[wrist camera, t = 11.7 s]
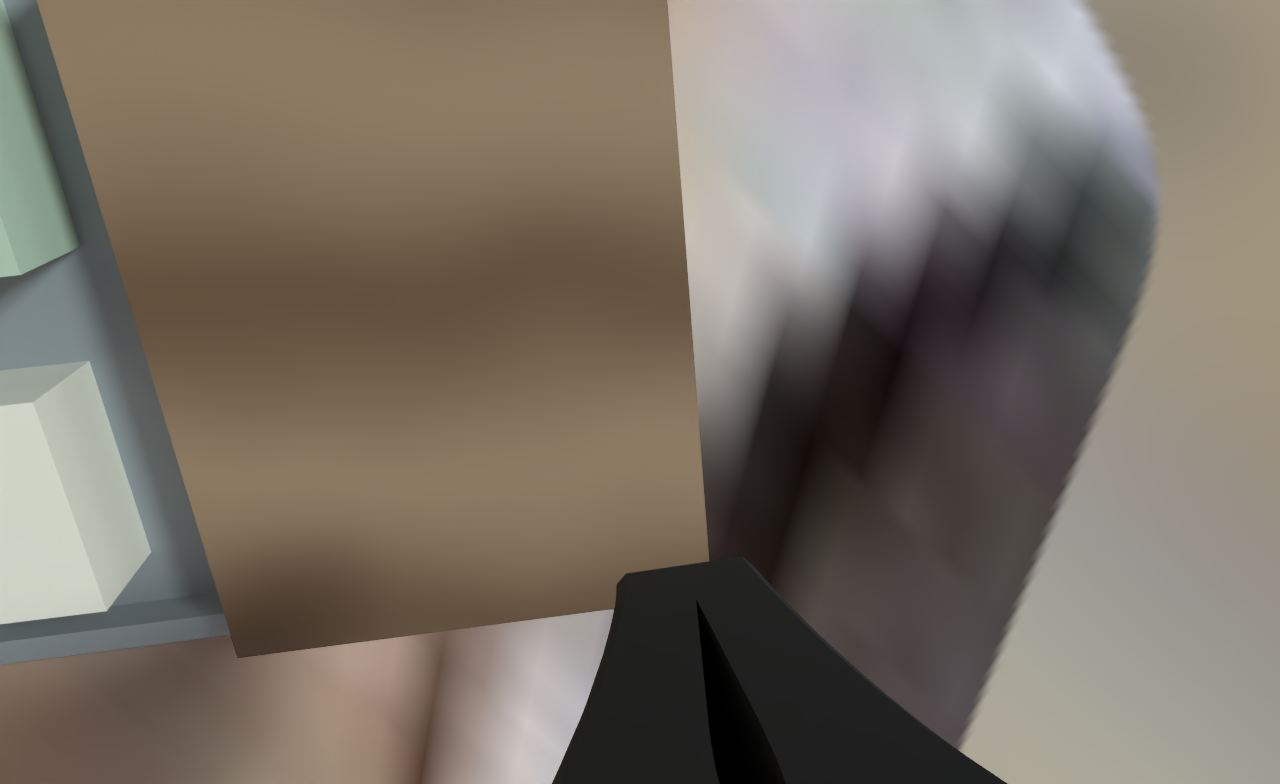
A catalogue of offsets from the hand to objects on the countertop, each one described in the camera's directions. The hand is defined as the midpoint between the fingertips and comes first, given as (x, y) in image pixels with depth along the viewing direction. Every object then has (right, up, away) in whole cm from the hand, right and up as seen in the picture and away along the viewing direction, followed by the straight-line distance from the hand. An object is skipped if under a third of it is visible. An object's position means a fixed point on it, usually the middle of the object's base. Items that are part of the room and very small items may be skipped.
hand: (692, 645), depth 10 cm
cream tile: (-12, +1, +8) cm, 15 cm away
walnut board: (-4, +5, +8) cm, 10 cm away
